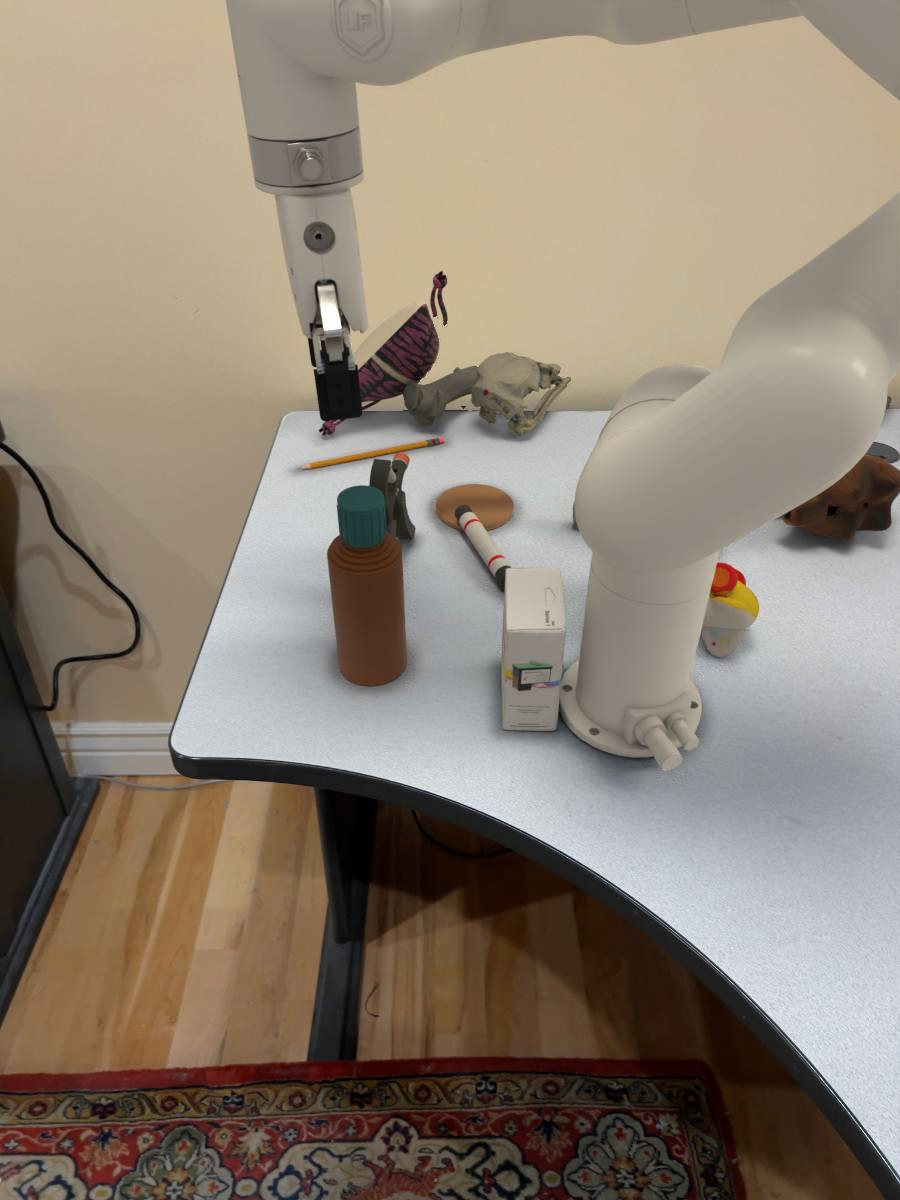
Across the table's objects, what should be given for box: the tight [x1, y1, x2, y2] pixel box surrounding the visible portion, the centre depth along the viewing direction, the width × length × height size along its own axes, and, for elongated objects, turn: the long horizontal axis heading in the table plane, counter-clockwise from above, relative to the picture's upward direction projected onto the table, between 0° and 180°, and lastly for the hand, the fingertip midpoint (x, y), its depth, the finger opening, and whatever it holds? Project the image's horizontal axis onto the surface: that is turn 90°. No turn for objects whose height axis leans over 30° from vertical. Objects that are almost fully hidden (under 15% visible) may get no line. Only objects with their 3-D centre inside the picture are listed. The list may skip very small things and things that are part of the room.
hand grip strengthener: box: [368, 452, 417, 541], centre depth 94 cm, size 2×13×15 cm, turn 169°
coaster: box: [435, 483, 515, 532], centre depth 107 cm, size 9×9×1 cm
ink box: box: [500, 567, 567, 732], centre depth 80 cm, size 8×5×12 cm, turn 178°
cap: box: [336, 484, 387, 548], centre depth 77 cm, size 4×4×4 cm
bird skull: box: [470, 351, 571, 437], centre depth 125 cm, size 25×14×10 cm, turn 168°
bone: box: [402, 365, 478, 427], centre depth 125 cm, size 22×6×6 cm, turn 137°
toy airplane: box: [700, 562, 760, 658], centre depth 90 cm, size 13×9×15 cm
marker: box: [455, 505, 512, 590], centre depth 99 cm, size 15×2×2 cm, turn 21°
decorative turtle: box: [781, 453, 900, 541], centre depth 100 cm, size 10×15×8 cm
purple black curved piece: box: [318, 270, 449, 437], centre depth 123 cm, size 25×8×19 cm
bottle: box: [326, 532, 408, 687], centre depth 82 cm, size 6×6×18 cm
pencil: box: [297, 437, 445, 470], centre depth 116 cm, size 19×1×1 cm, turn 111°
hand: (335, 389), depth 74 cm, fingers open, 9 cm apart
